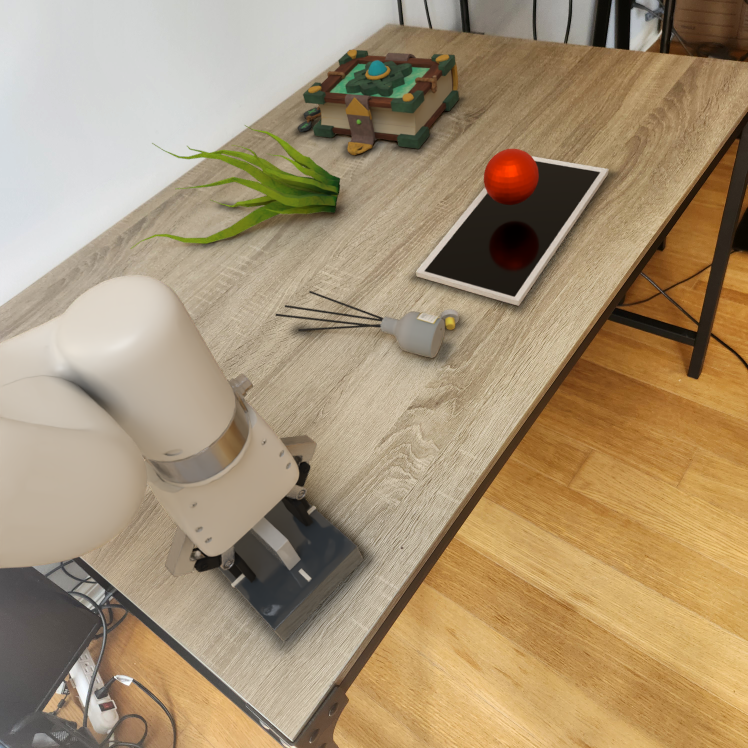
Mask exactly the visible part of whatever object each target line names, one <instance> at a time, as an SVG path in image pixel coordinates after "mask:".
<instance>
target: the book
mask: <svg viewBox="0 0 748 748" xmlns="http://www.w3.org/2000/svg"><path fill="white" fill-rule="evenodd" d="M337 61H338V65H339V66H338V67H337V68H336V69H335V70H334V71H332V70H329V71H327V73H326V74H327V75H326V76H327V78H325V79H324V80H323V81H322V82H314V83H313V84H312V85H311V86H310V87H309V88H307V90H305V91H304V93H302V96H303V100H304V103H305V104H312V105H318V106H317V107H314V108H311V109H308V110H306V111H304V113H303V117H304V119H306V120H305V121H303V122H302V123H300V124H299V125H298V126H297V131H299V132H300V133H301V132H302V133H303V132H307V131H309V130H311V127H312V126H313V127H312V131H313V134H314V137H322V138H329V139H333V138H334V137H335V136H336V135H346V136H351V138H350V141H348V142H347V149H346V151H347V152H348V153H349V154H350V155H352V156H357V155H359V154H363V153H365V152H366V151H368V150H372V148H373V145H374V142H375V141H377V140H387V141H393V142H394V141H396V142H397V145H398V147H400V148H401V147H403V148H410V149H416V150H417V149H419V150H420V148H421V146H422V145H423V144H424V143H425V142H426V140H427V139H428V138H429V137H430V128H431V127H432V125H434V123H435V122H436V121H437V119H439V117H440V116H441V115H442V113H443V112H450V111H451V110H452V109H453V107H454V106H455V105H456V104H457V102H458V101H459V100H460V95H459V90H458V88H459V72H458V66H457V62H456V55H455V54H446V53H445V54H444V53H443V54H442V53H434V54H433V55H432V56H431V57H430V58H424V57H416V56H415V55H414V54H413V53H401V52H387V54H386V55H385V56H384V55H370V54H369V51H368V50H364V49H363V50H362V49H355V48H354V49H349V50H348V51H346V52H345V54H343V55H342V56H341V57H340V58H339V59H338V60H337ZM319 117H321V118H320V119H319V120H318V121H317V123H315V124H314V125H313V123H312V122H314V121H315V119H317V118H319Z"/></svg>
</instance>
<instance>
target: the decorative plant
mask: <svg viewBox="0 0 748 748" xmlns="http://www.w3.org/2000/svg"><path fill="white" fill-rule="evenodd" d="M244 126H245V127H246V128H248V129H250V130H251V131H254V132H258V133H262V134H266V135H268V136H269V137H270V138H271V139H273V140H275V141H276V142H277V144H279V145H280V146H281V147H282V149H283V151H285V152H286V154H287V155H288V156H289V157H287V156H285V155H281V154H280V155H279V154H271V153H265V154H266V155H269V156H272V157H273V156H274V157H280V158H283V159H285V160H286V161H288V162H289V163H291V164H292V165H293V166H294V167H295V168H296V169H297V170H298V171H299V172H300V173H302V174H303V175H305V176H300V175H299V176H298V175H296V174H293V173H290V172H287V171H284V170H283V169H280V168H279V167H278V166H276V165H274V164H273V163H271V162H270V161H268V160H267V159H265V158H262V157H260V156H258V155H257V153H256V152H255V151H253V150H252V149H251V148H248V147H244V146H240V145H235V144H231V146H232V147H233V146H234V147H238V148H242V149H244V150H247V151H249V152H250V153H251V154H250V153H246V152H243V151H237V150H229V149H219V150H215V151H212V152H208V151H205V150H201V149H194V148H190V147H189V145H186V147H187V148H188V150H190V151H192V152H193V151H194V152H197V154H193V155H189V156H187V155H186V156H180V155H177V154H175V153H172V152H170V151H167V150H165V149H163V148H162V147H160V146H158V145H157V144H155V143H154V142H151V144H152V145H153V146H155V147H157V148H158V149H160V150H162V151H163V152H165V153H167V154H169V155H171V156H173V157H175V158H177V159H182V160H195V159H202V158H203V159H204V158H205V159H211V160H219V161H222V162H224V163H226V164H229V165H230V166H233V167H235V168H237V169H240V170H242V171H244V172H246V173H247V174H249V175H250V176H251V177H252V178H254V180H250V179H246V178H241V177H236V176H231V177H228V178H224V179H221V180H217V181H214V182H210V183H207V184H202V185H201V184H200V185H195V186H188V187H180V188H176V190H183V189H184V190H186V189H199V188H200V189H201V188H210V187H211V188H212V187H216V186H222V185H226V184H231V183H232V184H233V183H236V184H239V185H242V186H243V187H244V186H245V187H247V188H249V189H252V190H254V191H257V192H259V193H262V194H263V196H260V197H256V198H250V199H247V200H240V201H236V202H235V203H234V204H233V205H232V204H231V205H229V204H226V203H221V202H218V201H215V200H212V199H210V201H211V202H214V203H217V204H219V205H223V206H225V207H229V208H237V207H243V208H254V207H258V208H255V209H254V210H253V211H251V212H250V213H249V214H247V215H245V216H244V217H242V218H240V220H238V221H236V222H235V223H234V224H232V225H231V226H229V227H227V228H224V229H222V230H220V231H218V232H215V233H213V234H211V235H209V236H206V237H184V236H183V237H182V236H178V235H174V234H169V233H156V234H153V235H151V236H148V237H146V238H144V239H142V240H140V241H138V242H137V243H136V244H135V245H133V246H131V247H130V248H129V249H130V250H132V249H133V248H134V247H137V245H138V244H140V243H142V242H144V241H147V240H150V239H153V238H157V237H161V238H169V239H171V240H175V241H178V242H180V243H185V244H209V243H213V242H218V241H221V240H224V239H228V238H232V237H235V236H237V235H239V234H241V233H242V232H245V231H246V230H248V229H251V228H253V227H254V226H257V225H258V224H261V223H262V222H265V221H267V220H269V219H272V218H274V217H276V216H278V215H292V214H293V215H296V214H297V215H310V214H316V213H333V214H334V213H335V212H336V211H337V204H338V197H339V196H340V191H341V190H340V189H341V184H340V183H341V177H338V176H336V175H333V174H331V173H330V172H328V171H327V170H326V169H324V167H322V166H320V165H319V164H317V162H315V161H314V160H313V159H312V158H311V157H310V156H307V155H304V154H302V153H301V152H299V150H297V149H296V148H294V147H293V145H291V144H289V142H287V141H285V139H283V138H280V137H279V136H278V135H275V134H274V133H271V132H270V131H267V130H261V129H253V128H251V127H250V126H248V125H246V124H244ZM255 180H256V181H255Z"/></svg>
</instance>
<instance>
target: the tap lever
mask: <svg viewBox="0 0 748 748" xmlns="http://www.w3.org/2000/svg"><path fill="white" fill-rule="evenodd" d="M249 531H250V532H251V533H252V534H253V535H254V536H255V537H256V538H257V539H258V540H259V541H260V542H261V543H262V544H263V545H264V546H265V547H266V548H267V549H268V550H269V551H270V552H271V553H272V554H273V555H274V556H275V557H276V558H277V559H278V560H279V561H280V562H281V563H282V564H283V565H284V566H285V567H286V568H287V569H288V570H291V569H292V568H293V567H294V566H295V565H296V564H297V563H298V562H299V561H300V560H301V559H300V557H299V556H298V554H297V553H296V551H295V550H294V548H293V547H292V545H291V544H290V542H289V541H288V539H287V538H286V537H285V536H283V535H282V534H281V533H280V532H279V531H278V530H277V529H276V528H275V527H274V526H273V525H272V524H271V523H270V522H269V521H268V520H266V519H265V518H264V517H263V518H262V519H261V520H260V521H259V522H258V523H256V524H255V525H254V526H253V527H252V528H251V529H250V530H249Z"/></svg>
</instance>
